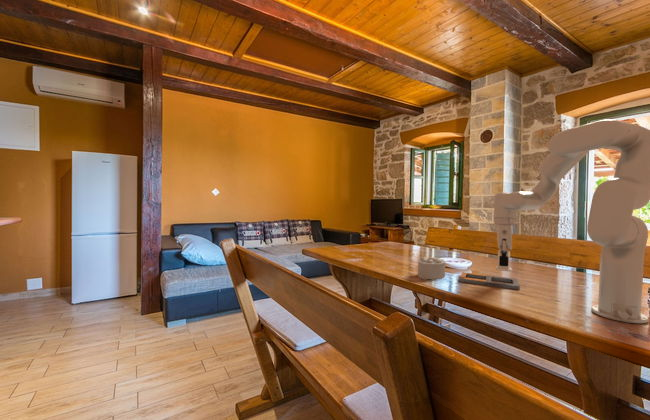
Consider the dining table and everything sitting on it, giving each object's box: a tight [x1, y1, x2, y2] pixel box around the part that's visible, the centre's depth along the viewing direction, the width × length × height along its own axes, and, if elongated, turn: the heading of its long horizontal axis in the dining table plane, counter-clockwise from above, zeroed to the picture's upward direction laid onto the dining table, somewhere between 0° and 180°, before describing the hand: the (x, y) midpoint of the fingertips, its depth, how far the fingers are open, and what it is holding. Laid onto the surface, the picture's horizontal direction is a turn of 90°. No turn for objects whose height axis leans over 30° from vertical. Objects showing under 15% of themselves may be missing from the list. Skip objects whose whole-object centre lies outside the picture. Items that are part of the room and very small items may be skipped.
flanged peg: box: [494, 249, 513, 272], centre depth 127 cm, size 6×6×8 cm
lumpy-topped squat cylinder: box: [417, 256, 446, 281], centre depth 138 cm, size 10×13×9 cm
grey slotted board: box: [459, 271, 521, 291], centre depth 130 cm, size 13×22×2 cm, turn 60°
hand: (503, 264), depth 127 cm, fingers closed on flanged peg, 4 cm apart
